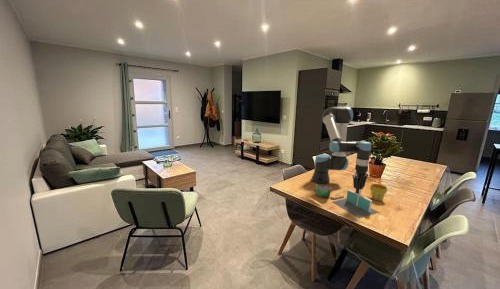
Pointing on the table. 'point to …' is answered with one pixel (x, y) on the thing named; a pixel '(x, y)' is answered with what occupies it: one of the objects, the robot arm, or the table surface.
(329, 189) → the food container
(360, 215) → the mat
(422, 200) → the table surface
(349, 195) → the tile
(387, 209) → the table surface
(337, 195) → the turner
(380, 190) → the plant pot
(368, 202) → the tile
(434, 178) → the table surface
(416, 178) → the table surface
